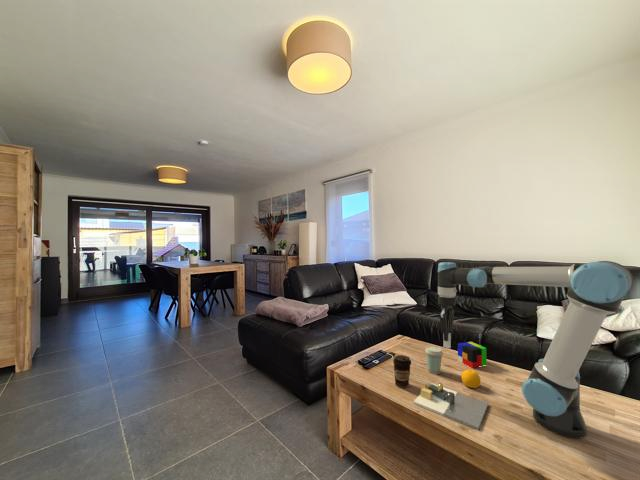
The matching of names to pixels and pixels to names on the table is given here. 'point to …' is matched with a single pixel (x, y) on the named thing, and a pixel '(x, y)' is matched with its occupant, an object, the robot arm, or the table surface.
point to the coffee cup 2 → (434, 359)
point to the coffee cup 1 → (402, 370)
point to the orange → (471, 378)
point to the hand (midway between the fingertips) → (447, 347)
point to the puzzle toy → (472, 354)
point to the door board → (432, 401)
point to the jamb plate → (467, 410)
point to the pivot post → (450, 397)
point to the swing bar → (437, 390)
